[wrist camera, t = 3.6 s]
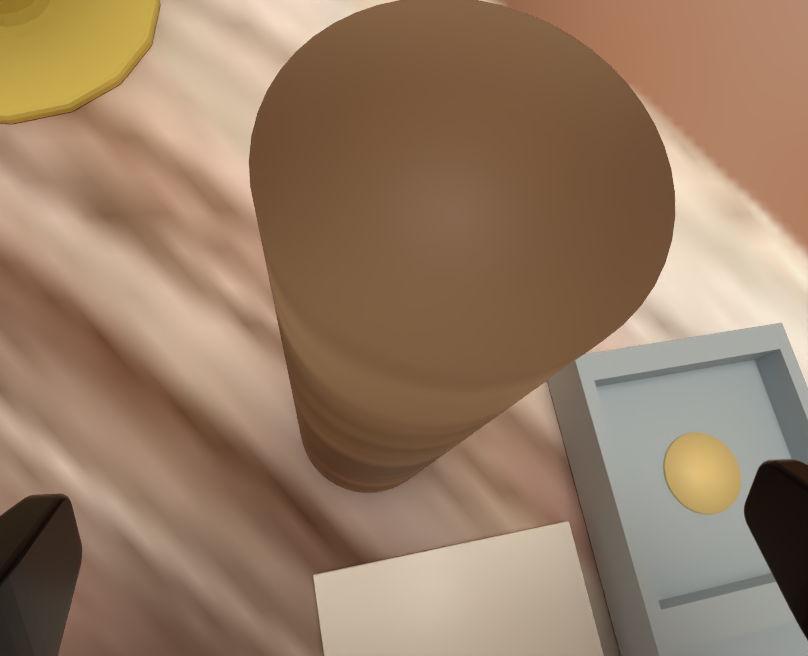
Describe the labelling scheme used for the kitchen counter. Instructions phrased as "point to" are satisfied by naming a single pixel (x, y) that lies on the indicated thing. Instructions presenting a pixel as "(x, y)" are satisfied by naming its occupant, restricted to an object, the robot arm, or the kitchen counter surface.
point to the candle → (68, 52)
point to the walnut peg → (447, 223)
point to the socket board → (684, 486)
